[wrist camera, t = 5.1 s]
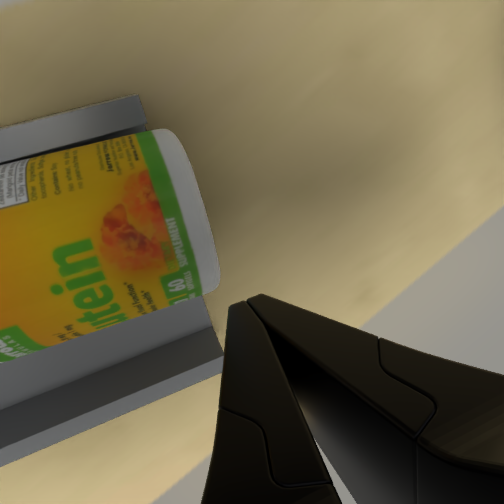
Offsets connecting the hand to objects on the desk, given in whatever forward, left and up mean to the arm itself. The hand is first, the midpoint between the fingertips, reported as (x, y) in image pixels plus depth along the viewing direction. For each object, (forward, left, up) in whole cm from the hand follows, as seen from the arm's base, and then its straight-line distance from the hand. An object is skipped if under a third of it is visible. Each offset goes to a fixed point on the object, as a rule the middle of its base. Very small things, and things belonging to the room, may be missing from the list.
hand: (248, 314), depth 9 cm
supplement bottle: (0, -1, -4) cm, 5 cm away
